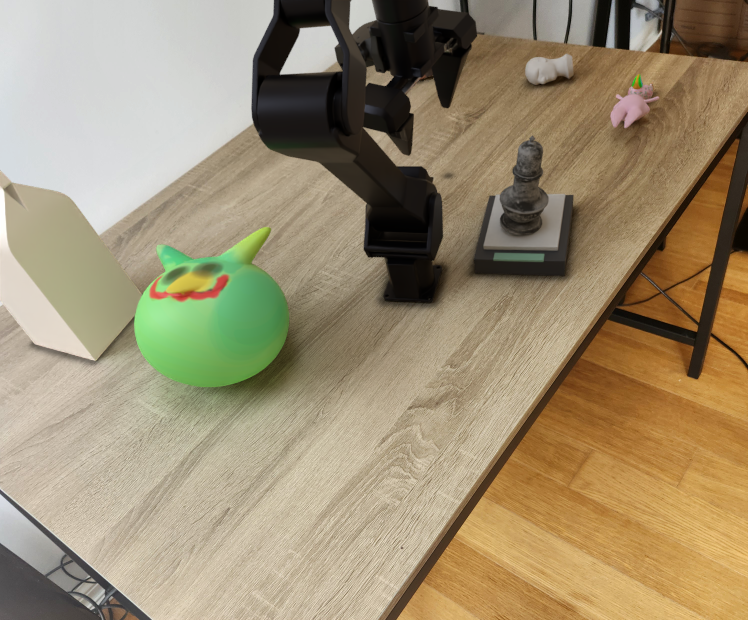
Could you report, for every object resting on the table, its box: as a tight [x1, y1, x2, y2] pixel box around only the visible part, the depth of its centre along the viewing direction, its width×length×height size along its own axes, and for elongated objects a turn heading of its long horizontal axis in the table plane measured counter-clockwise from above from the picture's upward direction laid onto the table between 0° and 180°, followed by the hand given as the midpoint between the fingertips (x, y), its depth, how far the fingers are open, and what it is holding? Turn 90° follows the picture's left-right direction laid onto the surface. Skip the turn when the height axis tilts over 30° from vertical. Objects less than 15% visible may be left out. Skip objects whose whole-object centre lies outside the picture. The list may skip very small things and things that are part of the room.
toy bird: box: [133, 226, 290, 388], centre depth 76 cm, size 18×17×15 cm
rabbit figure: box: [610, 73, 660, 129], centre depth 95 cm, size 6×6×15 cm
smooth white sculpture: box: [524, 53, 575, 86], centre depth 107 cm, size 4×8×5 cm
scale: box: [473, 193, 575, 277], centre depth 83 cm, size 13×11×3 cm
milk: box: [0, 169, 143, 362], centre depth 82 cm, size 12×12×26 cm
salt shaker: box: [500, 135, 549, 235], centre depth 77 cm, size 6×6×12 cm
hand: (426, 130), depth 81 cm, fingers open, 9 cm apart
